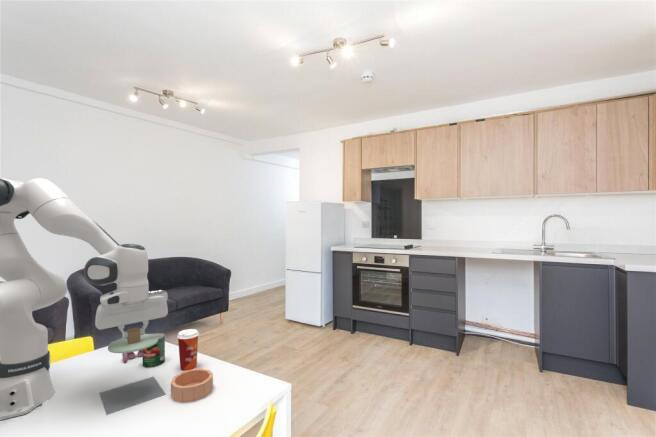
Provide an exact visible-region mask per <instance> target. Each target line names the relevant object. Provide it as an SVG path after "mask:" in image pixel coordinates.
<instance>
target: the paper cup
mask: <svg viewBox="0 0 656 437" xmlns="http://www.w3.org/2000/svg"><path fill="white" fill-rule="evenodd" d="M199 335H200V333H199V331H198V329H195V328H189V329H188V328H187V329H183V330H181V331H178V334H177V337H176V338H177V341H178V353H179V354H178V355H179V366H180V367H179V369H180V370H181V371H183V372H185V371H188V370H192V369H196V368H197V364H198V363H197V362H198V361H197V360H198V341H199Z"/></svg>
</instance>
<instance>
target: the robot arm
mask: <svg viewBox="0 0 656 437" xmlns="http://www.w3.org/2000/svg"><path fill="white" fill-rule="evenodd" d="M28 215H31V216H32V217H33V218H34V220H35V221H36V222H37V224H39V225H40V226H41V227H42V228H43V229H44V230H46V231H47V232H49V233H50V234H54V235H57V236H63V237H69V238H74V239H78V240H80V241H84V242H86V244H89V245H90V246H91V247H92V248H93V249H94V250H95V251H96V252H97V253H99V255H97V256H94V257H92V258H90V259H88V260H87V261H86V263H85V265H84V268H83V274H84V277H85V279H86V280H87V282H88V283H90V284H91V285H93V286H106V285H109V284H113V283H114V284H116V289H114V290H113V291H110V292H107V293H104V294H102V295H100V297H99V302H100V304H98V306H97V308H96V312H95V320H94V324H95V328H96V329H98V330H99V331H100V330H107V329H112V328H116V327H117V328H118V330H119V331H120V332H121V333H122V334H121V335H122V337H121V338H123V339H126V338H129V336H128V335H129V333H128V331H127V330H126V331H125V330H124V329H125V326H127V325H131V324H136V323H137V324H138V323H141V322H142V324H143V325H142V326H141V328H139V329H140V335H144V334H146V329H147V327H148V325H149V324H150V323H149V321H152V320H157V319H162V318H166V317H167V316H168V314H169V309H168V308H169V307H168V302H167V301H168V299H169V296H168V295H169V294H168V291H166V290H163V289H159V290H150V289H149V287H150V286H149V279H148V273H149V257H148V252H147V249H146V248H145V247H144V246H143V245H139V244H134V243H133V244H132V243H123V244H119V243H118V242H117V241H116V240H115V239H114V238H113V237H112V236H111V235H110V234H109V233H108V232H107V231H106V230H105V229H104V228H102V227H101V226H100V225H99V224H98V223H97V222H96V221H94V220H93V219H92V218H90V216H88V215H87V214H86V213H85V212H84V211H83V210H81V208H80V207H78V205H77V204H75V203H74V201H73V200H72V199H71V198H70V197H69V196H68V195H67V193H65V191H63V190H62V189H61V188H60V187H59V186H57V185H56V184H55V183H54V182H53V181H51V180H49V179H47V178H41V177H37V178H32V179H29V180H26V181H24V182H23V181H20V180H17V179H13V178H9V177H8V178H6V177H0V278H1V279H3V280H4V281H2V282H0V421H2V420H5V419H11V418H15V417H19V416H22V415H26V414H29V413H30V412H32V411H33V410H34V409H35V408H37V407H39V406H40V405H42V404H44V403H45V402H47V401H49V400H50V399H51V398H52V397H53V396H55V393H56V391H55V389H54V386H53V383H52V379H51V374H50V369H51V354H50V353H51V352H50V350H49V341H48V340H49V338H48V336H49V334H48V333H49V331H48V328H47V326H45V325H44V324H41V323H38V322H36V320H35V319H34V317H33V312H34V311H37V310H41V309H44V308H47V307H50V306H52V305H54V304H55V303H57V302H60V301H61V300H63V299H64V297H65V296H66V295H67V292H68V285H67V282H66V280H65V279H64V278H63V277H61V276H60V275H57V274H54V273H52V272H50V271H49V270H47V269H45V267H43V266H42V265H41V264H39V263H38V261H37V260H35V259H34V258H33V256H32V254H30V252H29V250H28V248H27V246H26V244H25V243H24V241H23V239H22V238H21V236H20V233H19V232H18V230H17V227H16V225H15V220H17V219H18V220H22V219H24V218H26V217H27V216H28ZM149 290H150V291H149Z"/></svg>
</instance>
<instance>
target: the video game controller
mask: <svg viewBox="0 0 656 437" xmlns="http://www.w3.org/2000/svg"><path fill="white" fill-rule="evenodd" d="M142 355H143V354H142V350H139V351H137V356H138V357H143V356H142ZM121 356H122V360H123V362H124V363H125V364H127V362H128V358H129V360H132V359H134V358H135V356H136V353H135V352H129V353H121Z"/></svg>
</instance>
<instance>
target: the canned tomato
mask: <svg viewBox="0 0 656 437" xmlns="http://www.w3.org/2000/svg"><path fill="white" fill-rule="evenodd" d="M152 334H153V335H156V336H158V342H157V343H156V344H155V345H153V346H151V347H149V348H146V349H143V350H142V354H143V355H142V356H141V357H142V361H141V362H142V367H143V368H148V369H149V368H155V367H156V368H157V367H159V366H162V365H163V364H165V362H166V348H165V347H166V335H165V333H163V332H156V333H155V332H154V333H152Z"/></svg>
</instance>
